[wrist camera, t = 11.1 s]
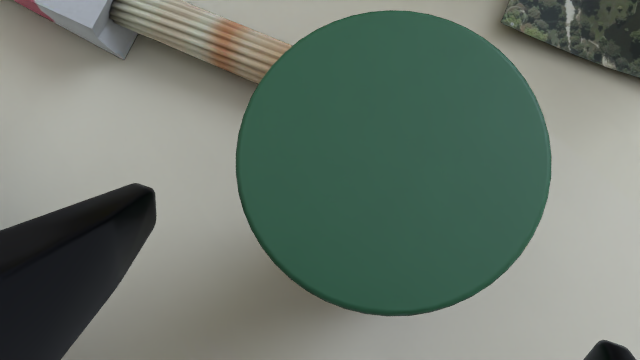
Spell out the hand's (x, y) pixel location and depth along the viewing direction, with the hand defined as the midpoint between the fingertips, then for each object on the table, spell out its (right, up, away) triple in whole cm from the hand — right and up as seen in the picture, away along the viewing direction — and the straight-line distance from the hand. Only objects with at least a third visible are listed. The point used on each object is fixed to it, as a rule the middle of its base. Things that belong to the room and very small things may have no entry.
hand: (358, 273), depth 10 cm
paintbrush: (-8, +9, +12) cm, 17 cm away
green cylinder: (+1, 0, +9) cm, 9 cm away
